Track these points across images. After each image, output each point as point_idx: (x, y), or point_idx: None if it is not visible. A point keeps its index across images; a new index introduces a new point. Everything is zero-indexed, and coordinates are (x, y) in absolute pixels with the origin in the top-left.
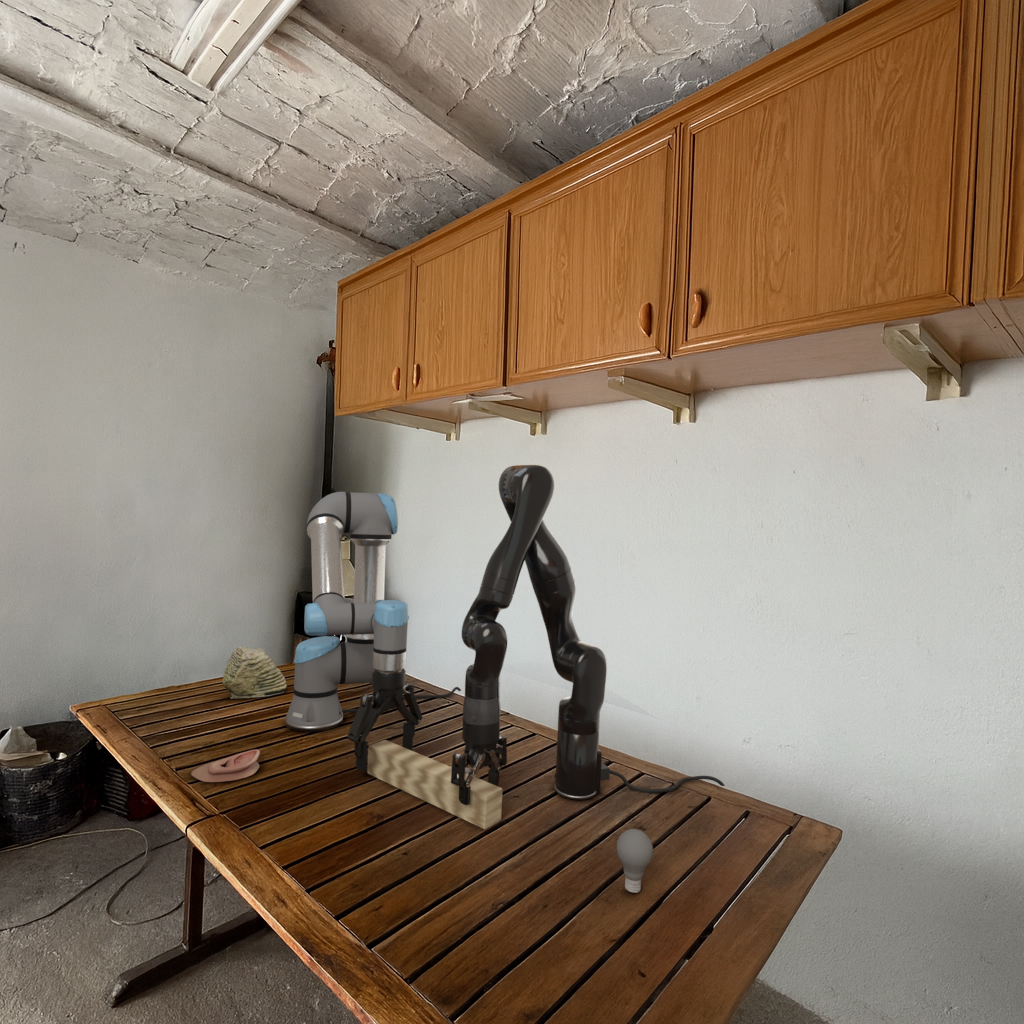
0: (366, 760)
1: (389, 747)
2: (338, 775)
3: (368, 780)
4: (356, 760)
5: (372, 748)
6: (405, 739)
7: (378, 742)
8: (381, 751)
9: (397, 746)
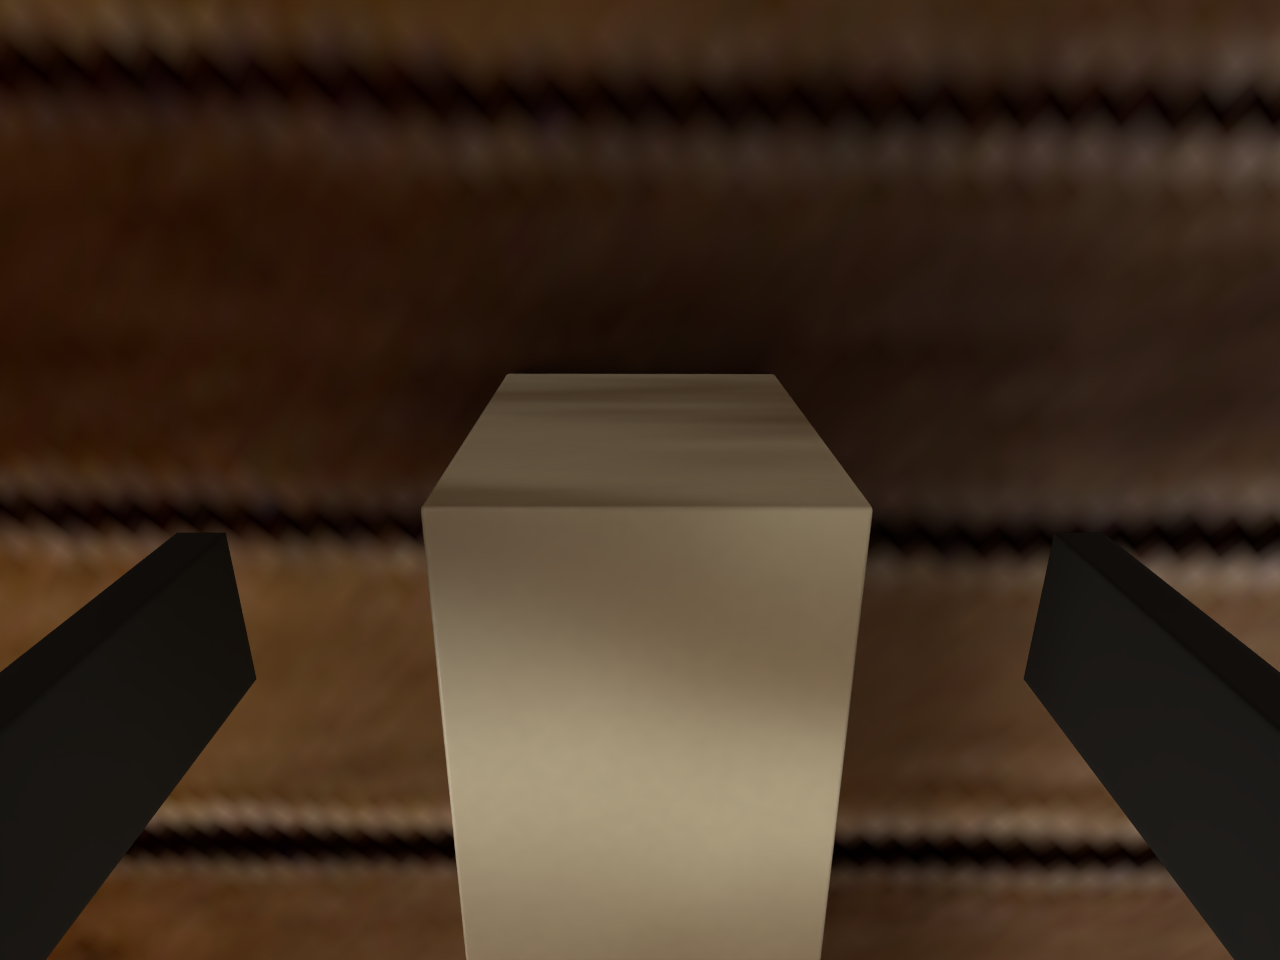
0: (175, 775)
1: (652, 815)
2: (192, 143)
3: (415, 516)
4: (108, 592)
5: (434, 613)
6: (1153, 697)
7: (671, 521)
8: (455, 828)
9: (779, 863)
